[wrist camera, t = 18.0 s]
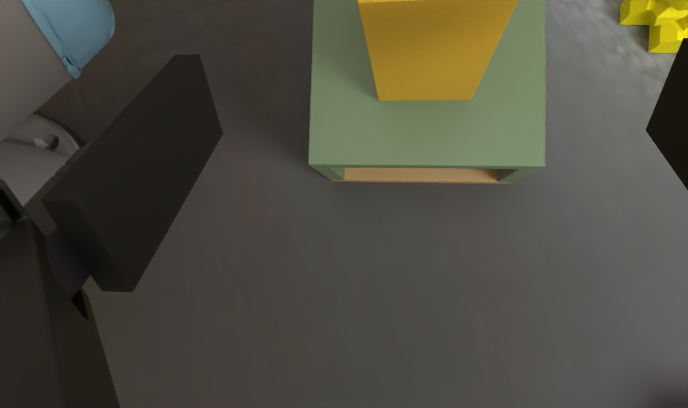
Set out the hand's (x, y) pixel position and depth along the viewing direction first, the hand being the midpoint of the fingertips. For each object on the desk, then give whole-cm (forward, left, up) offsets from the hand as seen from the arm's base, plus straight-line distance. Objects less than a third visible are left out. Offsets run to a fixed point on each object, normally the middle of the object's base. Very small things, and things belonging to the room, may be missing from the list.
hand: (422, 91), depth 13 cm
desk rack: (0, +8, -23) cm, 25 cm away
